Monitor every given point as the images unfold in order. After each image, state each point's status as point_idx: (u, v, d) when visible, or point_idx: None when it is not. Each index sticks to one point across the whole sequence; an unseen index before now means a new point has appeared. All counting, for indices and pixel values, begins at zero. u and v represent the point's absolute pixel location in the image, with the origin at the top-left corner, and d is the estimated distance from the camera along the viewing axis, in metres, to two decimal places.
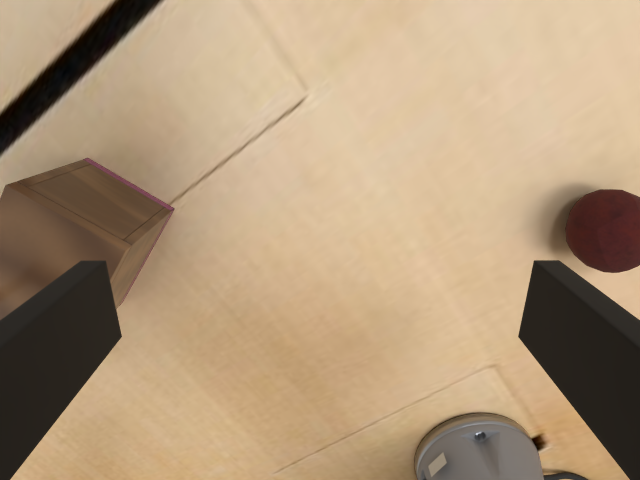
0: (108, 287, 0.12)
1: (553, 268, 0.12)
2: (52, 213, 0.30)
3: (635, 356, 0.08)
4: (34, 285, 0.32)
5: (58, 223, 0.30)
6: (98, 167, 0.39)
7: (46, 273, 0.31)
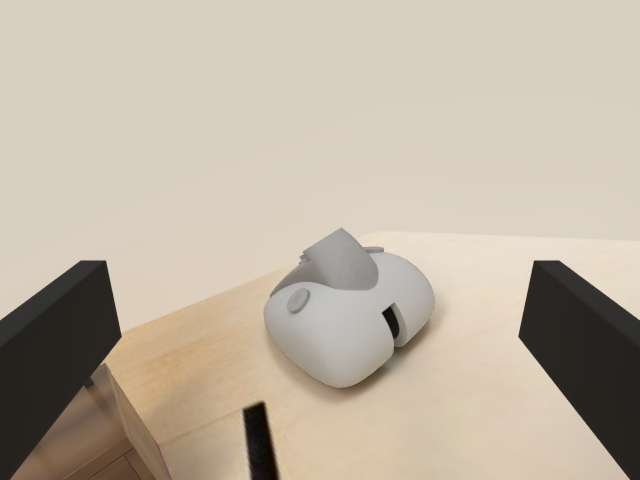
0: (108, 287, 0.12)
1: (553, 268, 0.12)
2: (74, 469, 0.27)
3: (635, 356, 0.08)
4: (58, 428, 0.32)
5: (63, 471, 0.27)
6: None
7: (52, 442, 0.31)
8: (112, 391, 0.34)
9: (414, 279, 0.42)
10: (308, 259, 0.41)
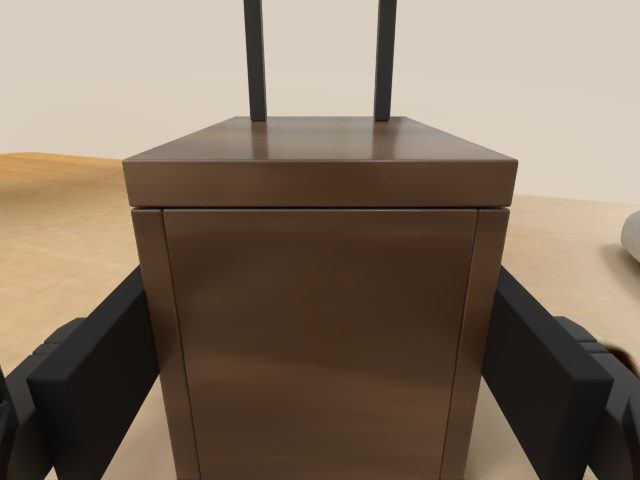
0: None
1: None
2: (364, 158, 0.10)
3: (516, 322, 0.09)
4: (323, 129, 0.15)
5: (337, 154, 0.10)
6: None
7: (312, 134, 0.14)
8: (434, 128, 0.16)
9: None
10: None
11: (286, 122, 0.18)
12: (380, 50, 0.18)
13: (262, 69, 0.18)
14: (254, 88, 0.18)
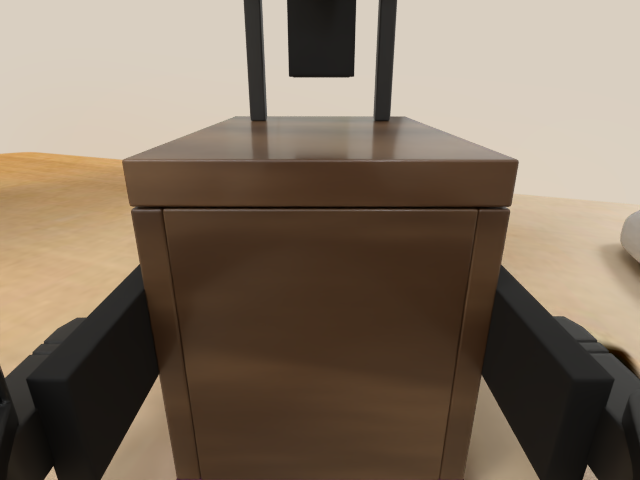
0: None
1: None
2: (364, 158, 0.10)
3: (516, 322, 0.09)
4: (324, 129, 0.15)
5: (337, 154, 0.10)
6: None
7: (312, 133, 0.14)
8: (434, 128, 0.16)
9: None
10: None
11: (286, 122, 0.18)
12: (380, 50, 0.18)
13: (262, 69, 0.18)
14: (254, 88, 0.18)
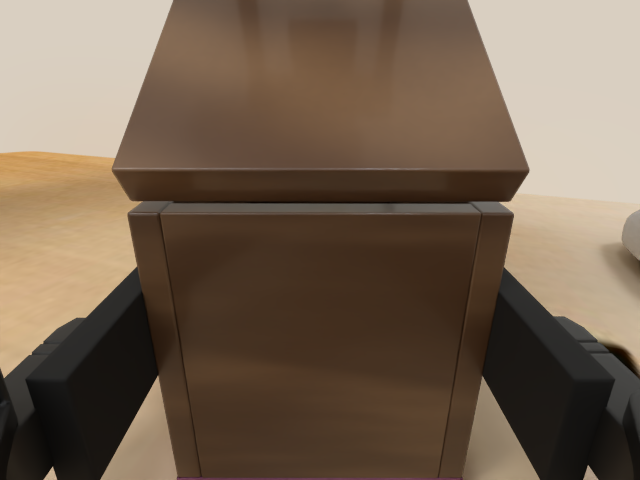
0: None
1: None
2: (367, 163, 0.09)
3: (516, 322, 0.09)
4: (325, 6, 0.12)
5: (338, 147, 0.09)
6: None
7: (310, 35, 0.12)
8: None
9: None
10: None
11: None
12: None
13: None
14: None
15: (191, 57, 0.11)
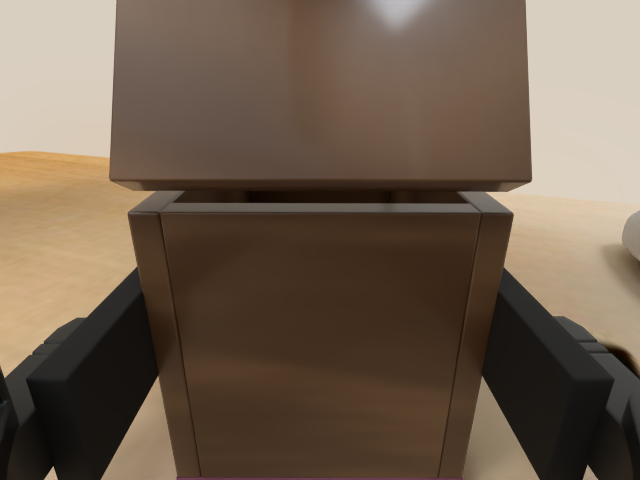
0: None
1: None
2: (368, 172, 0.09)
3: (516, 322, 0.09)
4: None
5: (339, 149, 0.09)
6: None
7: None
8: None
9: None
10: None
11: None
12: None
13: None
14: None
15: (164, 1, 0.09)
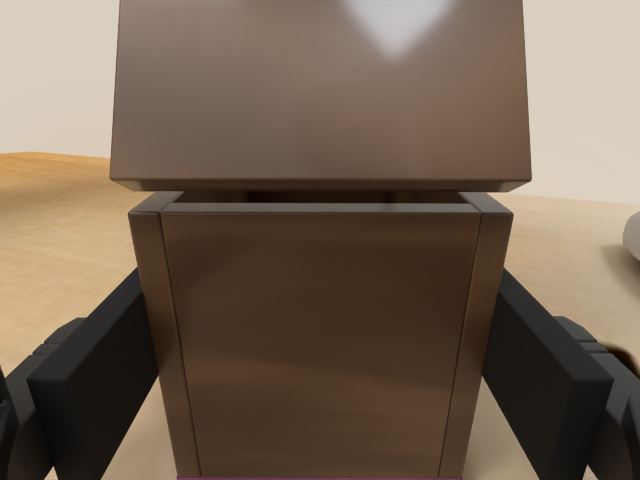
0: None
1: None
2: (368, 171, 0.09)
3: (516, 322, 0.09)
4: None
5: (339, 149, 0.09)
6: None
7: None
8: None
9: None
10: None
11: None
12: None
13: None
14: None
15: (166, 4, 0.09)
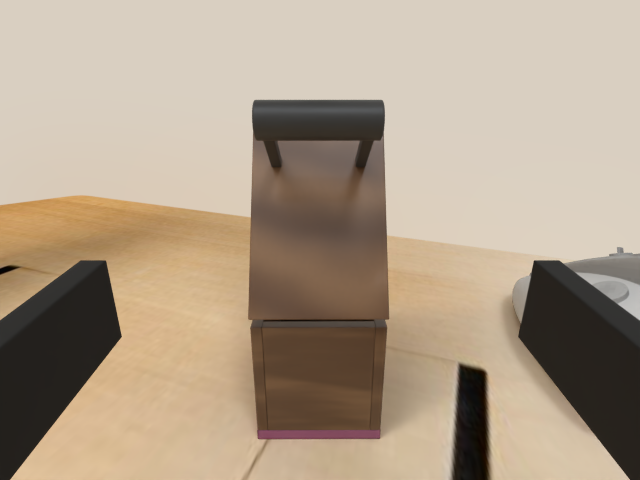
0: (108, 287, 0.12)
1: (553, 268, 0.12)
2: (334, 316, 0.26)
3: (635, 356, 0.08)
4: (320, 219, 0.27)
5: (325, 308, 0.27)
6: (361, 432, 0.30)
7: (314, 242, 0.27)
8: (384, 212, 0.28)
9: None
10: None
11: (296, 177, 0.28)
12: (361, 151, 0.25)
13: (277, 154, 0.26)
14: (273, 160, 0.27)
15: (266, 257, 0.27)
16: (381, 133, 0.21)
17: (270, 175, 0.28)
